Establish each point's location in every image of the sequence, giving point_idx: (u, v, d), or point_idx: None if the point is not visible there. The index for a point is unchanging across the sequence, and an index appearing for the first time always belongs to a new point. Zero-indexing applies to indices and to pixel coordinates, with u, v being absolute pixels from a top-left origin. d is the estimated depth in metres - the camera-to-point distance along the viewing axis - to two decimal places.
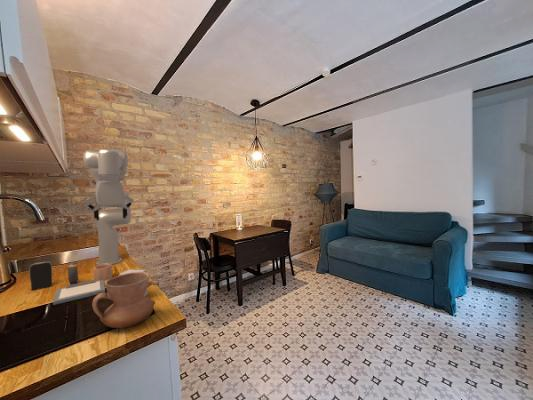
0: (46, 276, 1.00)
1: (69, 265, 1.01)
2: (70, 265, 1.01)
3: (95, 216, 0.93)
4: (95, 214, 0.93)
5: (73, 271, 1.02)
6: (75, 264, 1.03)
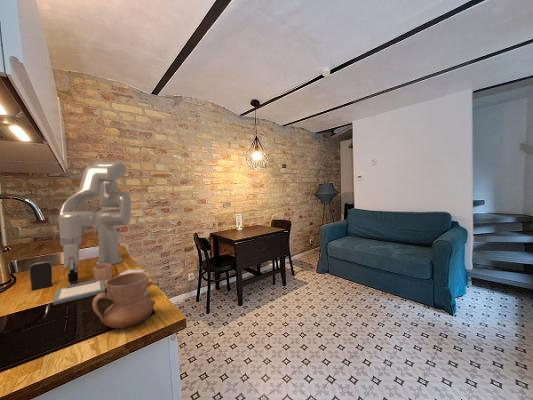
0: (46, 276, 1.00)
1: (69, 265, 1.01)
2: None
3: (75, 277, 1.02)
4: (75, 275, 1.02)
5: None
6: None
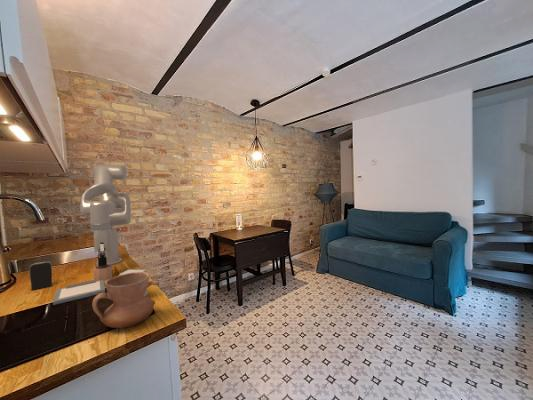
0: (46, 276, 1.00)
1: None
2: None
3: (104, 262, 1.06)
4: (104, 260, 1.06)
5: None
6: None
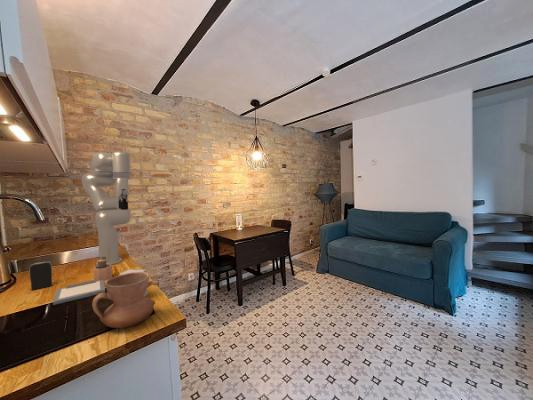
0: (46, 276, 1.00)
1: (99, 260, 1.07)
2: (100, 260, 1.07)
3: (126, 206, 1.13)
4: (126, 204, 1.13)
5: (103, 265, 1.08)
6: (104, 259, 1.08)
